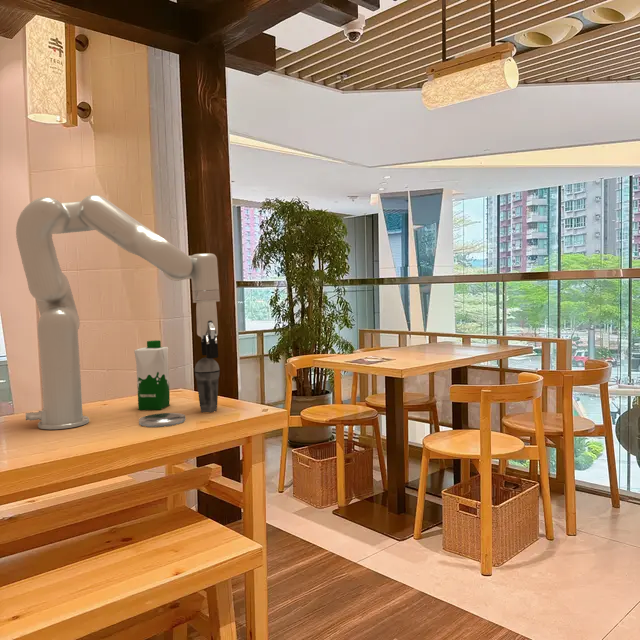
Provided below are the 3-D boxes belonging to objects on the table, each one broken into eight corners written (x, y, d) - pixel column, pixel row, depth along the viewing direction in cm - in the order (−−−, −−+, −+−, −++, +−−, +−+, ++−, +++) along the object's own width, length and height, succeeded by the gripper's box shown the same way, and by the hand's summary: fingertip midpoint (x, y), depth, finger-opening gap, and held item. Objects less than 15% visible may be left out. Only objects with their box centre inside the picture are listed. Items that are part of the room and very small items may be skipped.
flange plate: (139, 429, 151) (139, 424, 151) (138, 419, 163) (138, 415, 163) (187, 424, 155) (187, 419, 155) (183, 415, 167) (183, 411, 166)
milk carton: (173, 404, 183) (170, 340, 182) (162, 410, 174) (159, 342, 173) (146, 404, 184) (143, 340, 183) (133, 410, 176) (130, 343, 174)
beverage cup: (191, 413, 169) (188, 343, 168) (201, 408, 176) (198, 341, 175) (216, 413, 168) (213, 343, 167) (225, 408, 175) (222, 340, 174)
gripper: (189, 297, 177) (193, 354, 178) (196, 297, 161) (200, 360, 162) (214, 296, 180) (218, 352, 181) (224, 296, 163) (228, 358, 164)
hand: (210, 356), depth 171 cm, fingers open, 9 cm apart
